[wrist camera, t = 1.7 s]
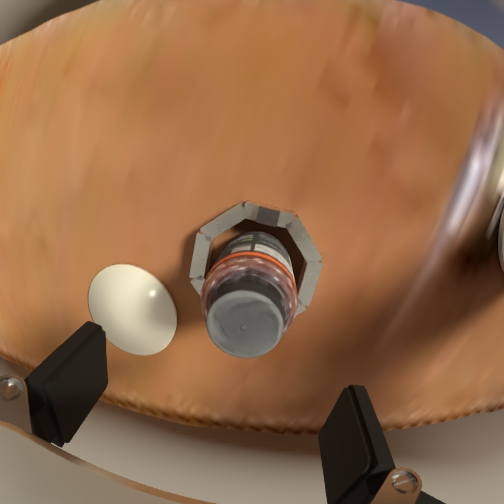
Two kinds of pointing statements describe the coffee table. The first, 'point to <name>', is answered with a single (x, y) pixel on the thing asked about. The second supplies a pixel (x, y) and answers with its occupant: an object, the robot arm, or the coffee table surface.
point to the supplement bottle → (249, 295)
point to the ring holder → (267, 217)
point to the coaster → (133, 309)
